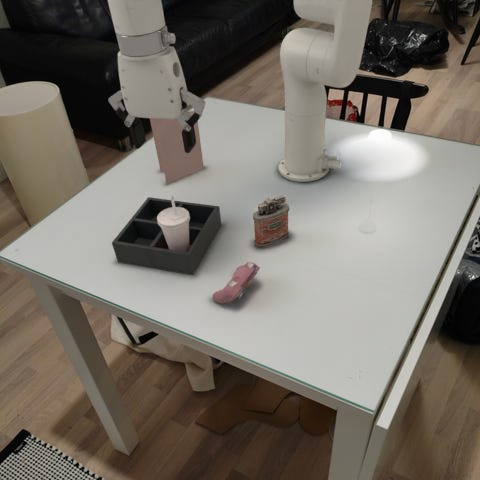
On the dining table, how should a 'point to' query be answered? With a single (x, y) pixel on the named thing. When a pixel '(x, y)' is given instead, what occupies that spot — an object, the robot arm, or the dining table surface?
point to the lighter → (271, 222)
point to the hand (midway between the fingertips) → (165, 147)
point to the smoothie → (175, 227)
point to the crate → (153, 240)
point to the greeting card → (175, 149)
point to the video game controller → (237, 283)
